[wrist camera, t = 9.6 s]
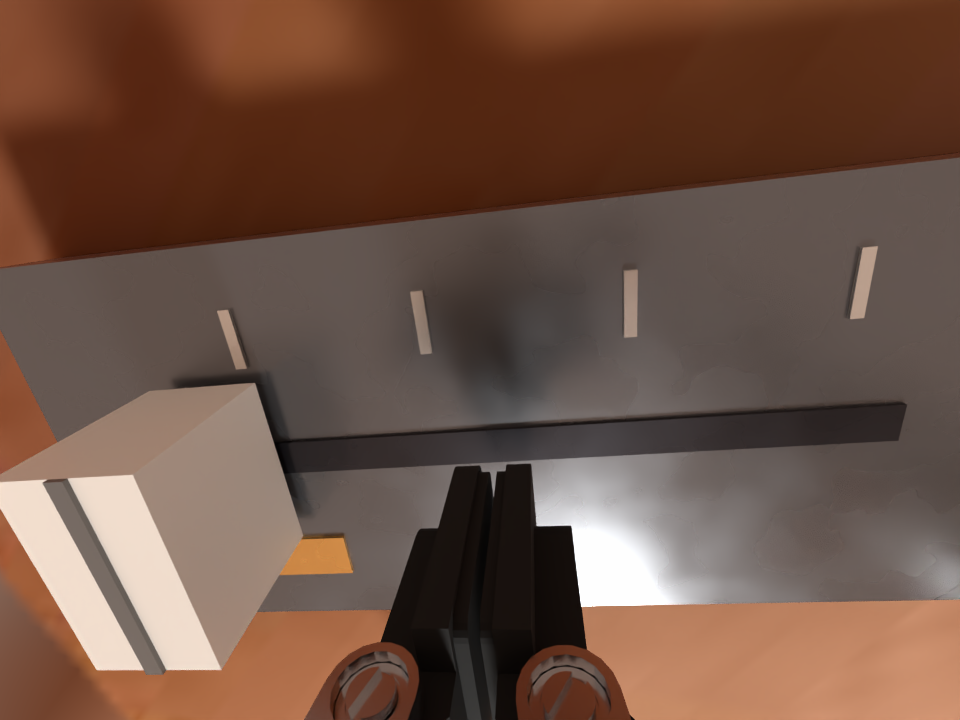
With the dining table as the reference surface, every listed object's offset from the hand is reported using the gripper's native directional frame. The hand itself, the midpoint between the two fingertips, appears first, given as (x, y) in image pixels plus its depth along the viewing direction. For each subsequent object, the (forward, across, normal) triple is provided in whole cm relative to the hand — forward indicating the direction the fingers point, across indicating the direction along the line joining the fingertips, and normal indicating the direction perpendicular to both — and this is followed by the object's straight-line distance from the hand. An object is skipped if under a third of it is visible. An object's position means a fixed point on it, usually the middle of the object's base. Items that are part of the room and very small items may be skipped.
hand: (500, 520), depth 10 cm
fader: (+2, +8, 0) cm, 8 cm away
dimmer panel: (+5, 0, 0) cm, 5 cm away
